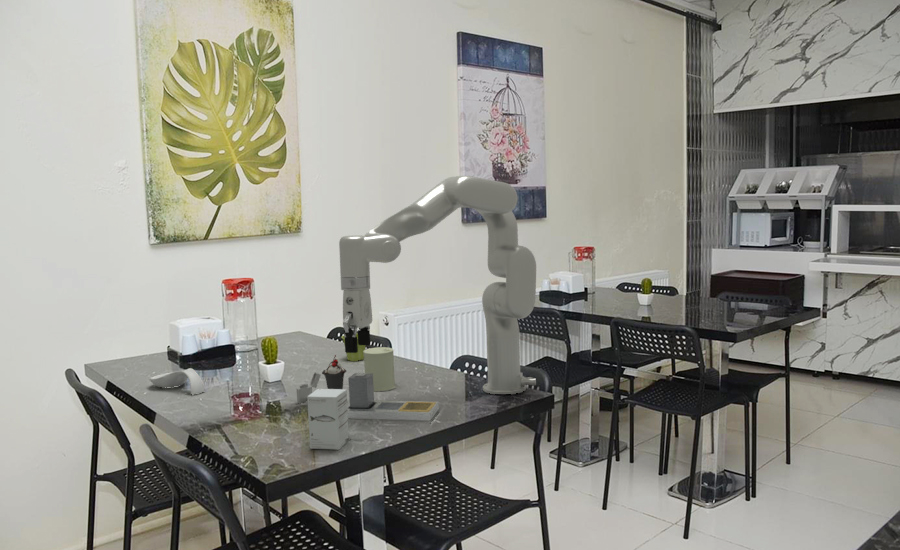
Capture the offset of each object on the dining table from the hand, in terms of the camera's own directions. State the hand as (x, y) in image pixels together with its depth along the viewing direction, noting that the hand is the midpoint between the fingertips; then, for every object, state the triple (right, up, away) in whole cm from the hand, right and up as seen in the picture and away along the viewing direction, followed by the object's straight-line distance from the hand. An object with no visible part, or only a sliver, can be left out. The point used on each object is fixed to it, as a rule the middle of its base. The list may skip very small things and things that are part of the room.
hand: (358, 348), depth 190 cm
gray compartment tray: (+8, -18, 0) cm, 20 cm away
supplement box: (-4, -21, -19) cm, 29 cm away
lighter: (-16, -17, +19) cm, 30 cm away
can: (+3, -15, +31) cm, 35 cm away
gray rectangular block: (+1, -17, +2) cm, 17 cm away
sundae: (-8, -18, +12) cm, 23 cm away
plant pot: (-10, -11, +72) cm, 73 cm away
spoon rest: (-61, -17, +40) cm, 75 cm away
